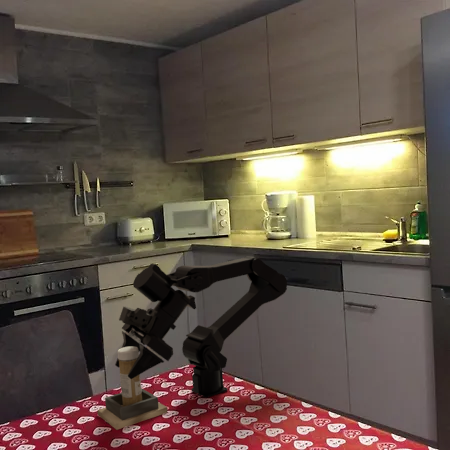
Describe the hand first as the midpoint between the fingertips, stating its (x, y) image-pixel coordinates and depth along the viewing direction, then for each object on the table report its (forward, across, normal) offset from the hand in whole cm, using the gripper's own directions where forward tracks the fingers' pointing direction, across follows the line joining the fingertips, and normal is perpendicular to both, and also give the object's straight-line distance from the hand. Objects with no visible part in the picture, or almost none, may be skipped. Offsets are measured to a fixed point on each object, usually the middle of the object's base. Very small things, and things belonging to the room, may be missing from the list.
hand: (122, 371), depth 119 cm
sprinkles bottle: (+5, 0, +7) cm, 9 cm away
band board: (+6, 0, +8) cm, 10 cm away
